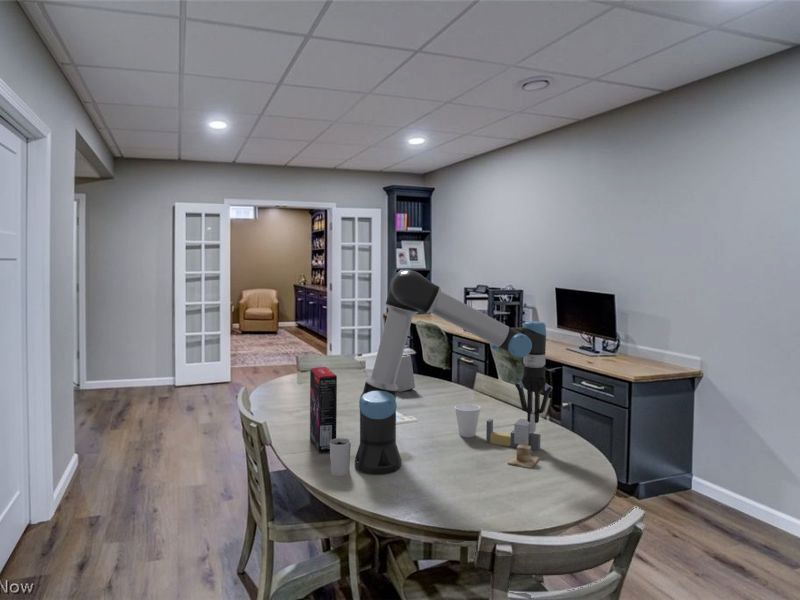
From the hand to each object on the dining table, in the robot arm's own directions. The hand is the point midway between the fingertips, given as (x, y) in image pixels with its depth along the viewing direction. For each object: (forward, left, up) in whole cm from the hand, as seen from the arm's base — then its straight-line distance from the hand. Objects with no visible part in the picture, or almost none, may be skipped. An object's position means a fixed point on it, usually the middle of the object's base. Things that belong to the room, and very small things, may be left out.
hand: (533, 431), depth 197 cm
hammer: (-7, 0, -6) cm, 9 cm away
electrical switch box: (-85, +57, -7) cm, 102 cm away
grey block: (-3, 0, -4) cm, 5 cm away
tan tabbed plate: (0, -14, -6) cm, 15 cm away
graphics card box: (-68, -32, -7) cm, 75 cm away
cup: (-26, +3, -7) cm, 27 cm away
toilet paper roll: (-49, -50, -7) cm, 70 cm away
